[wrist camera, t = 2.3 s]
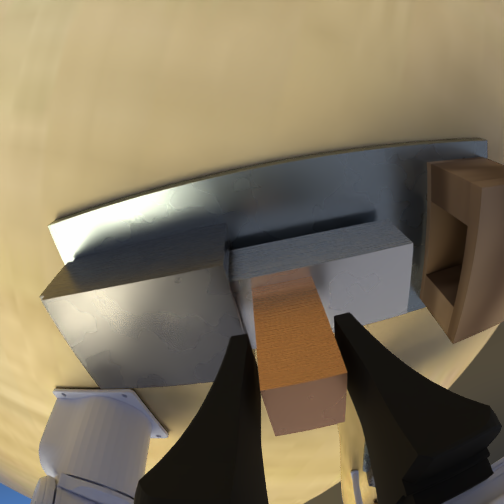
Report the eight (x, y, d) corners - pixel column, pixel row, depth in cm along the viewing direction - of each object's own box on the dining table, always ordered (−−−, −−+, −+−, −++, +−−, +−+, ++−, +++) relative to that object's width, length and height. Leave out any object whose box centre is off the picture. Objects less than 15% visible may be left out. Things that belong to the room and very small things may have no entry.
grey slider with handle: (120, 332, 17) (81, 444, 10) (92, 278, 15) (27, 389, 8) (386, 283, 16) (453, 389, 9) (387, 218, 14) (482, 316, 7)
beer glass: (358, 343, 21) (428, 536, 7) (410, 364, 22) (476, 512, 9) (300, 396, 23) (330, 566, 10) (356, 410, 25) (395, 548, 12)
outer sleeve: (124, 356, 20) (107, 410, 16) (54, 220, 15) (7, 262, 11) (465, 285, 19) (501, 326, 14) (479, 138, 14) (536, 158, 9)
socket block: (419, 298, 18) (452, 344, 14) (426, 162, 14) (482, 188, 10) (468, 282, 18) (504, 320, 14) (482, 156, 14) (536, 179, 9)
